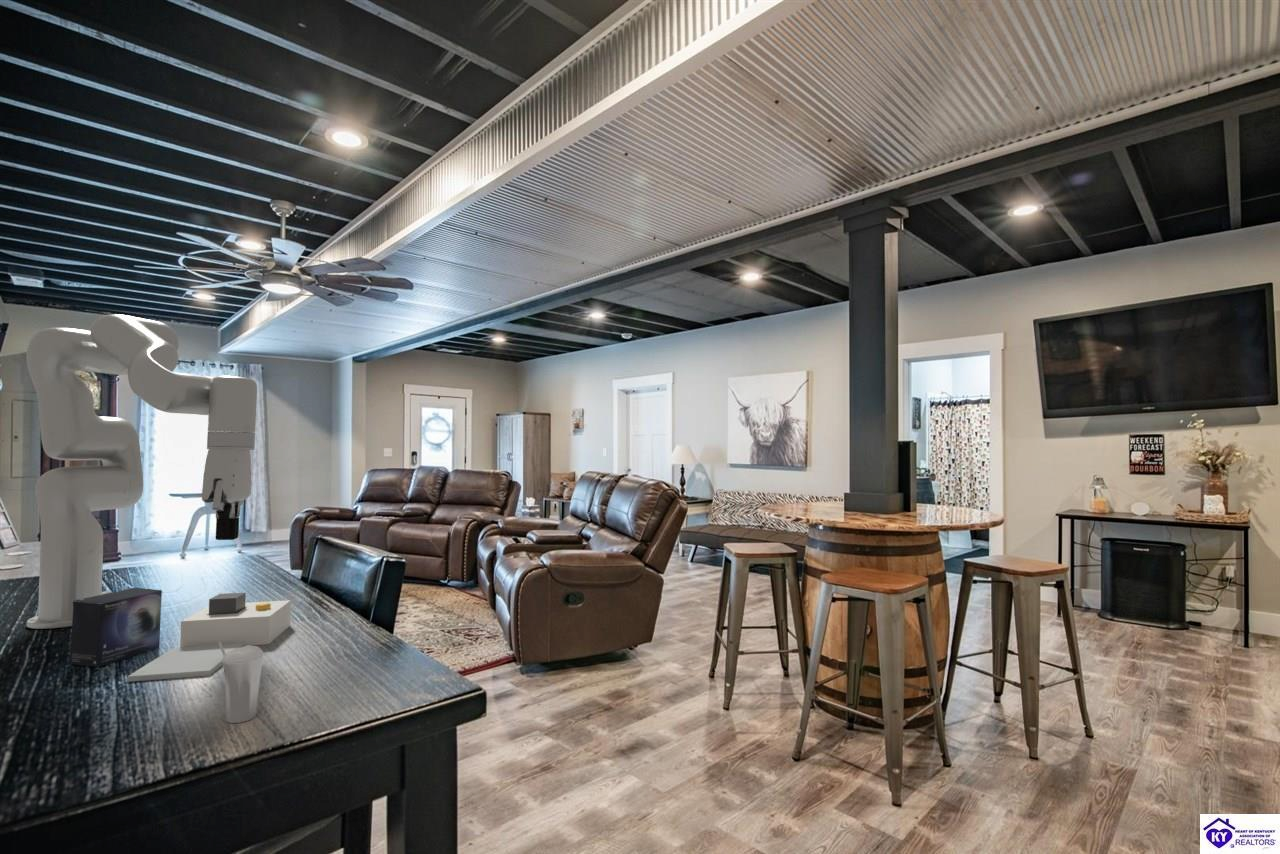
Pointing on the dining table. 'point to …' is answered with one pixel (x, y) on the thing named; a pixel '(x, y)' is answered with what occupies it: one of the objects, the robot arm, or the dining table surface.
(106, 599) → the small box
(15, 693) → the dining table surface
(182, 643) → the switch panel
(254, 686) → the milkshake
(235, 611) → the button
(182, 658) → the lockout pad
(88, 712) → the dining table surface
